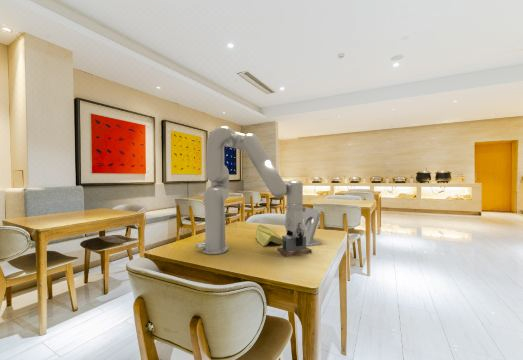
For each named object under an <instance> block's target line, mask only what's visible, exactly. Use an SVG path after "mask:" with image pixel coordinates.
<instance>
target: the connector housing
mask: <svg viewBox="0 0 523 360" xmlns="http://www.w3.org/2000/svg"><path fill="white" fill-rule="evenodd" d="M281 237H282V245H281V248H282V249H286V251H287V252H289V251H296V250H304V249H306V247H307V246H306V236H304V235H303V245H302V246H296V237H297V236H296V235H287V234H286V235H285V234H284V235H282V236H281Z"/></svg>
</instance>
